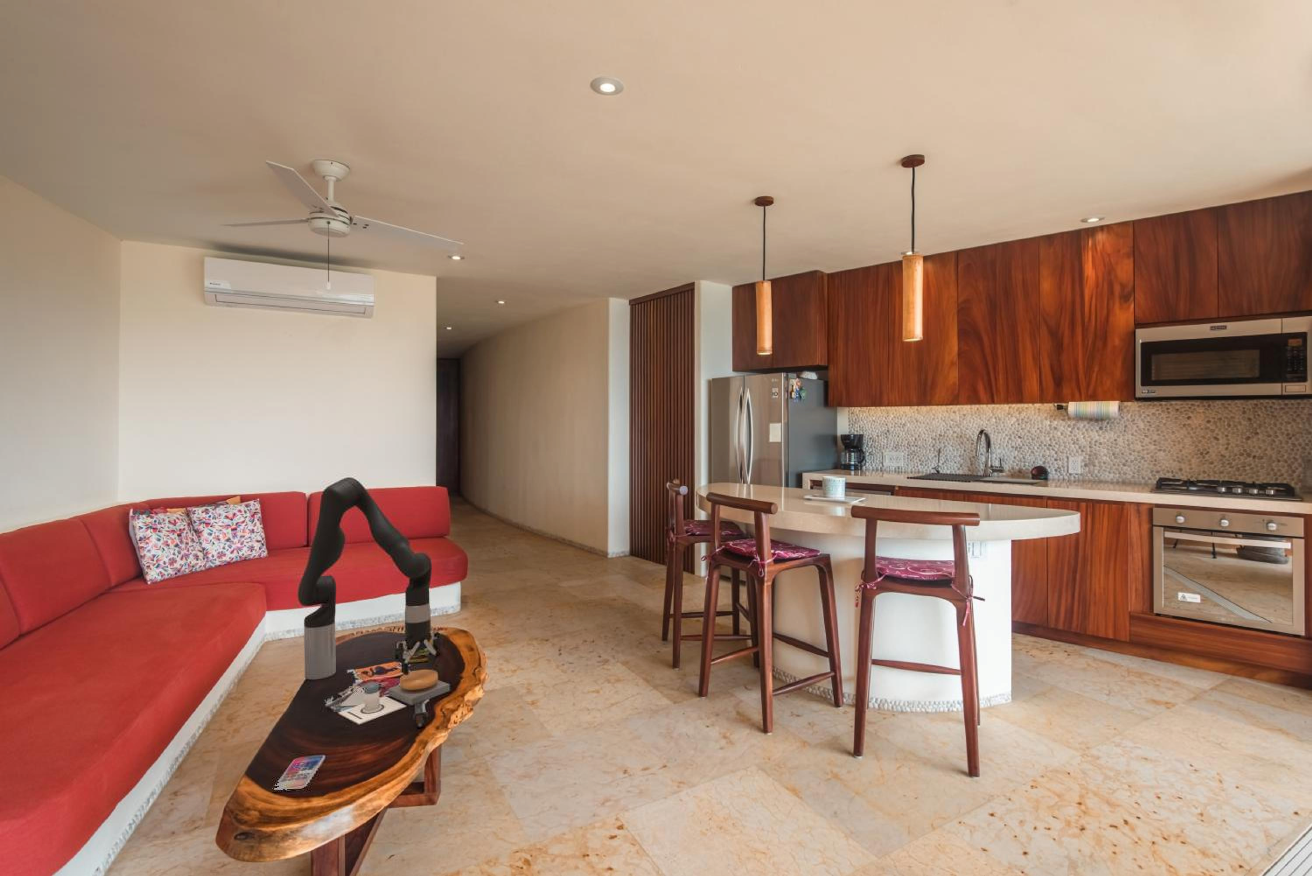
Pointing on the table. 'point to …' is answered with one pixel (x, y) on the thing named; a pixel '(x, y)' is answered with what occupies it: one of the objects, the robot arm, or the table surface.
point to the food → (420, 654)
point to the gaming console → (354, 699)
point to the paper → (362, 716)
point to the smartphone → (300, 772)
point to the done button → (419, 679)
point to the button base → (418, 692)
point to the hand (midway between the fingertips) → (418, 670)
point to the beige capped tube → (371, 696)
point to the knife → (420, 713)
